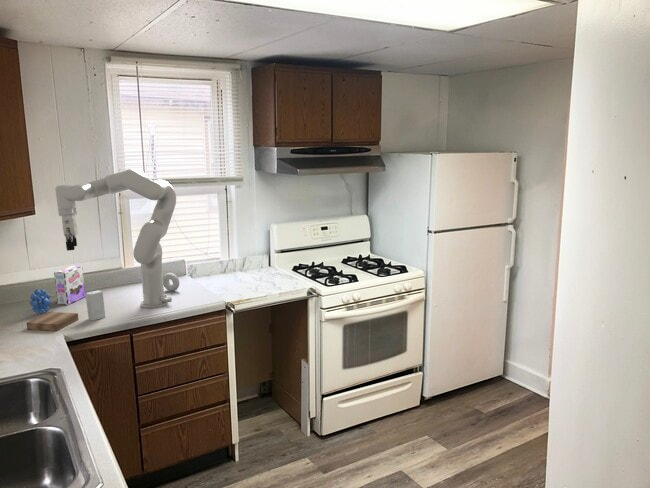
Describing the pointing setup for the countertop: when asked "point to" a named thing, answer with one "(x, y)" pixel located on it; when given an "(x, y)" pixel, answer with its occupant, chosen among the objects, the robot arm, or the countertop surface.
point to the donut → (174, 280)
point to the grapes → (40, 301)
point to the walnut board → (52, 321)
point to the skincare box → (95, 305)
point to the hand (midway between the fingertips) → (72, 248)
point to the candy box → (69, 285)
